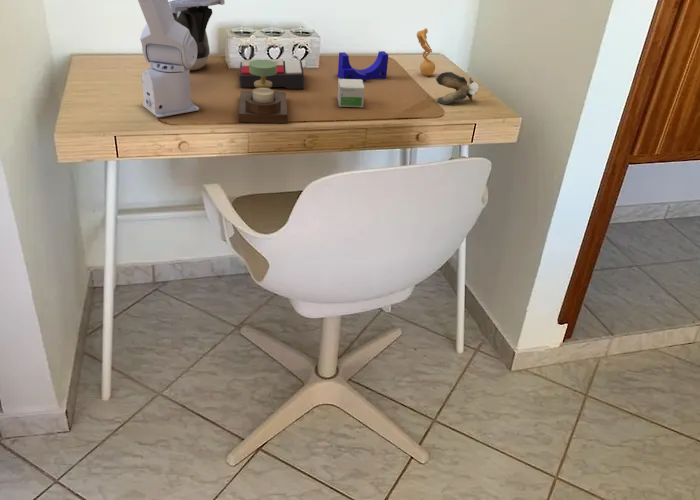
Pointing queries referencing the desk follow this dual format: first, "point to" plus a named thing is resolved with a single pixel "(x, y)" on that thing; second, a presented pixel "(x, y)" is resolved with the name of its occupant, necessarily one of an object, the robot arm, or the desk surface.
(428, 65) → the figurine
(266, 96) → the lamp switch
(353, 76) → the blue u-shaped cradle
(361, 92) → the small box
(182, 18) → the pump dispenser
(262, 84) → the lamp
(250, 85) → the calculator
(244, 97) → the lamp base
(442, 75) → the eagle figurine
